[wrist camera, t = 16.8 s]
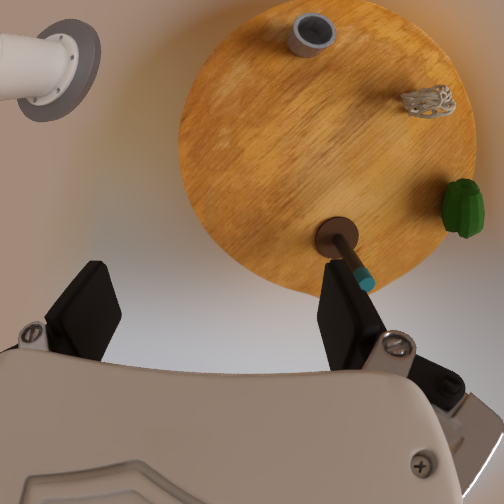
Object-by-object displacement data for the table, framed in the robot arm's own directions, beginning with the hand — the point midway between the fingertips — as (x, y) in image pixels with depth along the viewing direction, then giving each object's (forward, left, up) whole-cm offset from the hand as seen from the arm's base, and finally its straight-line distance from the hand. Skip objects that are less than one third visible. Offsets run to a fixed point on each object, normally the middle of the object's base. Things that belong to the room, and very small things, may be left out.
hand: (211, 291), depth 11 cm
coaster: (+15, -11, -28) cm, 34 cm away
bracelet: (+26, +12, -28) cm, 40 cm away
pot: (+9, +18, -28) cm, 35 cm away
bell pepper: (+35, +1, -24) cm, 42 cm away
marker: (+15, -11, -28) cm, 33 cm away
